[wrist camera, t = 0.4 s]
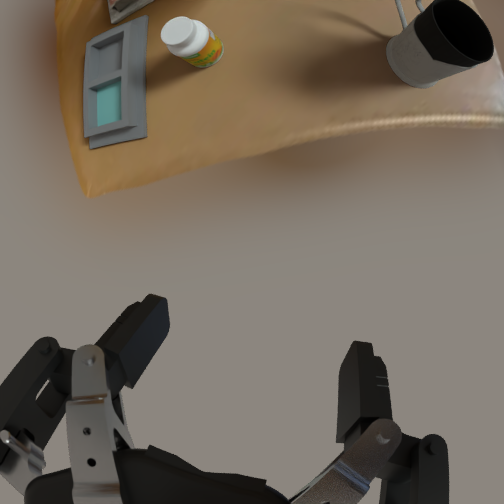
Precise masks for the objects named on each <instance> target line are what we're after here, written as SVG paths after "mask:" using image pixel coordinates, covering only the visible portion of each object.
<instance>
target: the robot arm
mask: <svg viewBox="0 0 504 504" xmlns="http://www.w3.org/2000/svg"><path fill="white" fill-rule="evenodd" d="M169 328H170V321H169V312H168V303H167V299H166V298H164V297H160V296H157V295H153V294H149V295H147V296H146V297H145V299H144V300H143V301H142V302H138V301H137V302H135V303H134V304H132V305H130V306H128V307H127V308H126V309H125V310H124V311H123V313H122V314H121V316H119V317H118V318H117V319H116V321H115V322H114V323H113V324H112V325H111V326H110V327H109V329H108V330H107V331H106V332H105V333H104V334H103V335H102V336H101V338H100V339H99V340H98V341H97V342H96V343H95V344H94V345H90V344H89V345H84V346H81V347H80V348H78V349H77V350H71V349H66V348H61V347H60V346H59V344H58V342H57V340H56V339H55V338H52V337H43V338H40V339H39V340H37V341H36V342H35V343H34V345H33V346H32V347H31V348H30V349H29V350H28V352H27V353H26V354H25V355H24V356H23V358H22V359H21V360H20V361H19V363H18V364H17V365H16V366H15V367H14V369H13V370H12V371H11V372H10V374H9V375H8V376H7V378H6V379H5V380H4V382H3V383H2V384H1V386H0V474H1V475H2V476H3V477H4V478H5V479H6V480H7V481H8V482H9V483H10V484H11V485H12V486H13V487H14V488H15V489H16V490H17V491H19V492H20V493H21V494H22V495H23V496H24V502H25V503H24V504H357V503H358V502H359V501H360V500H361V499H362V498H363V497H364V495H365V494H366V493H367V492H368V490H369V488H370V486H369V484H370V483H371V481H372V480H373V479H374V478H375V477H377V478H381V479H382V482H381V492H380V500H379V504H449V464H448V449H447V444H446V442H445V440H444V439H443V438H442V437H441V436H439V435H436V434H430V435H427V436H425V437H424V438H423V439H419V438H415V437H412V436H409V435H406V434H404V433H402V432H401V429H400V427H399V426H398V425H397V424H396V423H395V422H394V421H393V418H392V409H391V400H390V391H389V387H388V386H389V384H388V379H387V377H388V376H387V370H386V366H385V364H384V362H383V361H382V359H381V357H379V356H374V353H373V346H372V344H371V343H368V342H360V341H353V343H352V344H351V347H350V349H349V351H348V353H347V355H346V356H345V359H344V360H343V363H342V364H341V367H340V371H339V389H338V418H337V435H336V443H344V451H343V452H342V453H340V455H339V456H338V457H337V458H336V459H335V460H334V461H333V462H332V463H330V464H329V465H328V466H327V467H326V468H325V469H324V470H323V471H322V472H321V473H320V474H319V475H318V476H317V477H315V478H314V479H313V480H312V481H311V482H310V483H308V484H307V485H306V486H305V487H303V488H302V489H301V490H300V491H298V492H297V493H296V494H295V495H293V496H292V497H291V498H289V499H287V498H286V497H285V496H284V495H283V494H281V493H279V492H278V491H277V490H275V489H273V488H271V487H269V486H267V485H266V480H265V479H259V478H254V477H249V476H244V475H240V474H229V473H211V472H203V471H201V470H199V469H197V468H196V467H194V466H192V465H191V464H189V463H187V462H186V461H184V460H183V459H181V458H180V457H178V456H176V455H174V454H171V453H169V452H166V451H163V450H161V449H159V448H156V447H154V446H152V445H149V447H148V449H135V448H134V444H133V441H132V439H131V436H130V434H129V431H128V427H127V423H126V418H125V412H124V407H123V402H122V395H121V389H122V388H123V386H124V385H125V386H127V387H129V388H131V389H133V387H134V385H135V384H136V382H137V381H138V379H139V378H140V376H141V375H142V373H143V372H144V370H145V369H146V367H147V365H148V364H149V362H150V361H151V359H152V357H153V356H154V355H155V353H156V352H157V350H158V349H159V347H160V346H161V344H162V343H163V341H164V339H165V338H166V336H167V334H168V332H169ZM47 380H49V383H48V384H47V386H46V387H45V388H44V390H43V391H42V392H41V394H40V395H39V397H38V398H37V400H36V396H37V394H38V392H39V391H40V389H41V388H42V386H43V385H44V384H45V382H46V381H47ZM65 413H66V424H67V438H68V448H69V456H70V463H71V468H67V469H64V470H60V471H57V472H53V473H49V474H45V475H42V469H44V468H45V466H46V462H45V460H44V454H43V450H44V448H45V446H46V445H47V443H48V441H49V439H50V438H51V436H52V434H53V432H54V431H55V429H56V427H57V426H58V424H59V422H60V421H61V419H62V418H63V416H64V414H65Z"/></svg>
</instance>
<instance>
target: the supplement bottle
mask: <svg viewBox="0 0 504 504" xmlns="http://www.w3.org/2000/svg"><path fill="white" fill-rule="evenodd" d="M161 39H162V41H163V42H164V43H166V44H167V47H168V49H169V51H170V52H171V53H173V54H174V55H176V56H178V57H180V58H181V59H183V60H185V61H187V62H189V63H190V64H192V65H194V66H196V67H201V68H203V67H209V66H211V65H213V64H215V63H216V62H217V61H218V60H219V59H220V58H221V56H222V54H223V44H222V42H221V41H220V39H219V38H218V37H217V36H216V35H215V34H214V33H213V32H212V31H211V30H210V29H209V28H208V27H207V26H206V25H204V24H203V23H202V22H200V21H197V20H190V19H189V18H187V17H176V18H173V19H171V20H170V21H169V22H167V23H166V24H165V26H164V27H163V29H162V31H161Z"/></svg>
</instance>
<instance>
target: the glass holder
mask: <svg viewBox="0 0 504 504" xmlns="http://www.w3.org/2000/svg"><path fill="white" fill-rule="evenodd" d="M415 2H416V5H417V7H418V9H419V10H420V12H421V13H420V14H418V15H417V16H416V17H415V18H414V19H413V20H412V22H411V23H410V24H409V25H408V26H407V23H406V19H405V16H404V12H403V9H402V6H401V2H400V0H395V3H396V6H397V9H398V12H399V15H400V19H401V22H402V26H403V31H402V32H401V33H400V34H399V35H396V36H394V37H393V38H391V39H390V40H389V42H388V44H387V47H386V56H387V60H388V63H389V65H390V67H391V68H392V70H393V71H394V73H395V74H396V75H397V76H398V77H399V78H400V79H401V80H403V81H404V82H405V83H407V84H409V85H411V86H413V87H416V88H429V87H432V86H433V85H435V84H436V83H437V82H438V80H441V79H443V78H446V77H449V76H451V75H454V74H457V73H460V72H462V71H465V70H468V69H471V68H474V67H476V66H477V65H478V64H480V63H483V62H486V61H488V60H490V59H491V57H492V56H493V52H494V45H493V40H492V37H491V34H490V32H489V30H488V28H487V26H486V25H485V23H484V22H483V20H482V19H481V18H480V17H479V15H478V14H477V13H476V12H475V11H474V10H473V9H471V8H470V7H469V6H468V5H466V4H465V3H463V2H461V1H460V0H434V1H433V2H432V3H431V4H430V5H429V6H428V7H427V8H426V9H424V8H423V6H422V4H421V0H416V1H415Z"/></svg>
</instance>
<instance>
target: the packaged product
mask: <svg viewBox="0 0 504 504" xmlns="http://www.w3.org/2000/svg"><path fill="white" fill-rule="evenodd" d="M107 1H108V8H109V13H110V18H111V23H112V24H117V23H118V22H120V21H121V20H123V19H124V18H126V17H127V16H129V15H131V14H132V13H134V12H135V11H137V10H139V9H140V8H142V7H144V6H145V5H147V4H149V3H151V2H153V1H154V0H107Z"/></svg>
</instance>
